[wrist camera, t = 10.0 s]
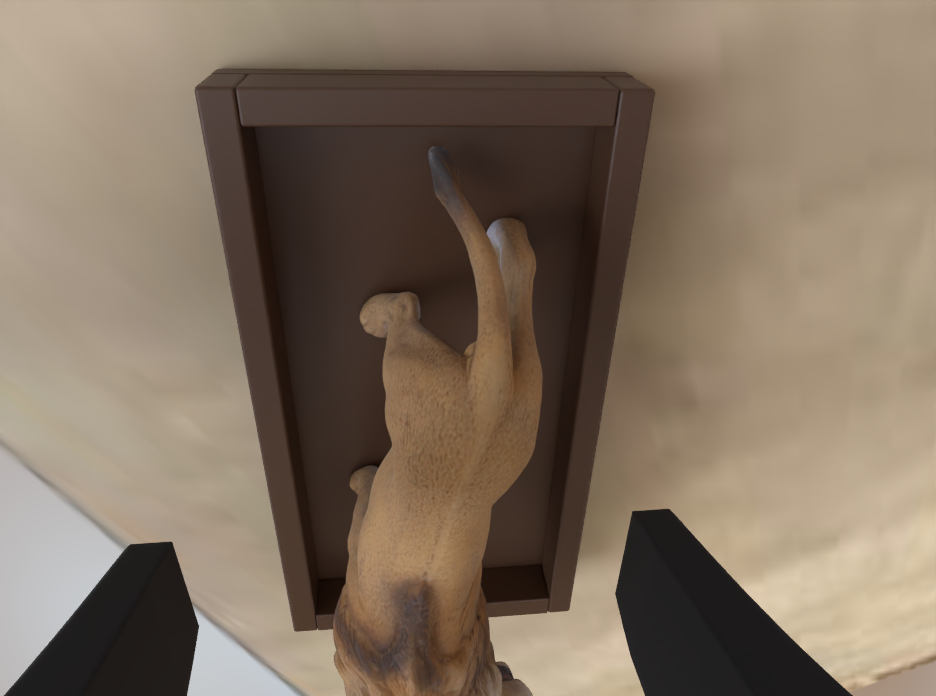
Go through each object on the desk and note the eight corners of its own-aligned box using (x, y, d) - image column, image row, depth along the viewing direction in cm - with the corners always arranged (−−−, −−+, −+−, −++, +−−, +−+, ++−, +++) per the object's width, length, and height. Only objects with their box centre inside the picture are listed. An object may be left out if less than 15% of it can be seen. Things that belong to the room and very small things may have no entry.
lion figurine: (501, 554, 24) (555, 846, 16) (351, 563, 23) (334, 870, 16) (538, 139, 16) (675, 326, 8) (313, 137, 15) (244, 337, 8)
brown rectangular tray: (626, 71, 16) (657, 89, 14) (557, 564, 25) (569, 611, 24) (215, 68, 15) (192, 86, 13) (300, 581, 24) (293, 632, 23)
